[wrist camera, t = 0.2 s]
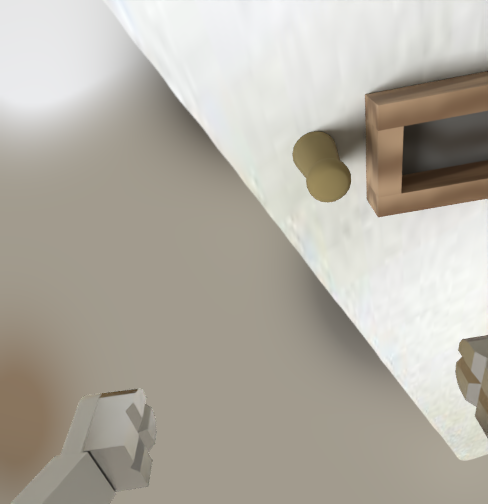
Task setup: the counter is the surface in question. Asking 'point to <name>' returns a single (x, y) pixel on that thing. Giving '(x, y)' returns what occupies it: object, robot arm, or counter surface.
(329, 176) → the cork
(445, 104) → the well block
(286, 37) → the counter surface
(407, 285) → the counter surface
